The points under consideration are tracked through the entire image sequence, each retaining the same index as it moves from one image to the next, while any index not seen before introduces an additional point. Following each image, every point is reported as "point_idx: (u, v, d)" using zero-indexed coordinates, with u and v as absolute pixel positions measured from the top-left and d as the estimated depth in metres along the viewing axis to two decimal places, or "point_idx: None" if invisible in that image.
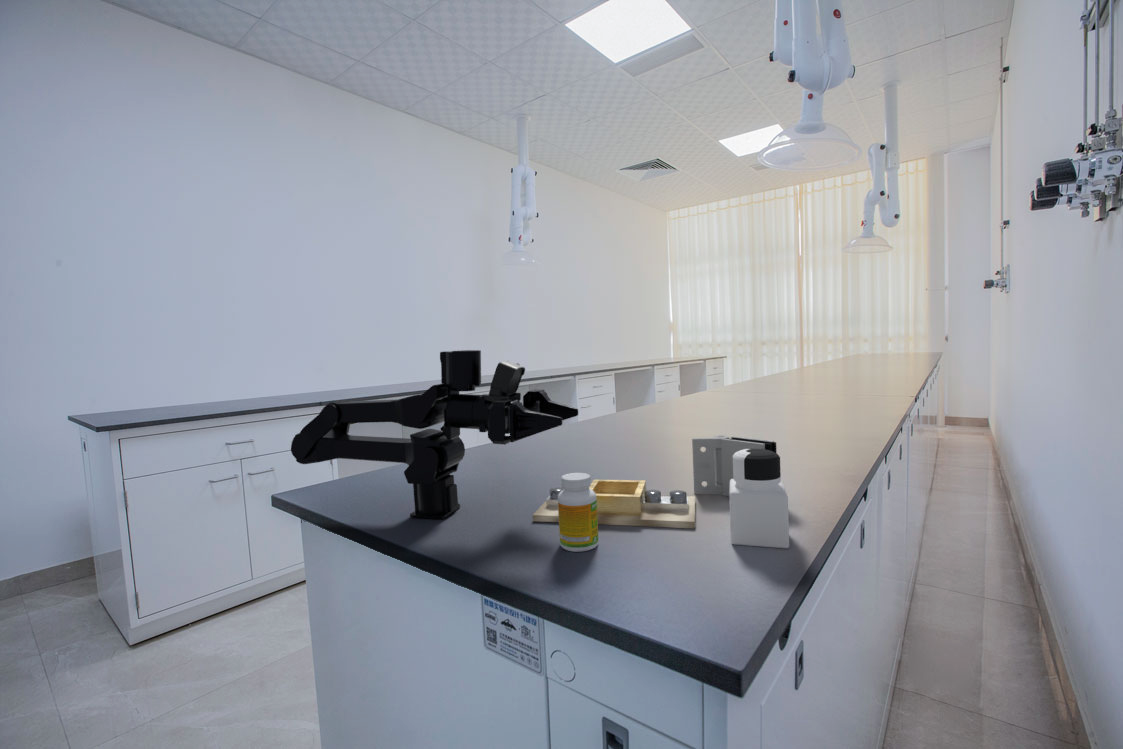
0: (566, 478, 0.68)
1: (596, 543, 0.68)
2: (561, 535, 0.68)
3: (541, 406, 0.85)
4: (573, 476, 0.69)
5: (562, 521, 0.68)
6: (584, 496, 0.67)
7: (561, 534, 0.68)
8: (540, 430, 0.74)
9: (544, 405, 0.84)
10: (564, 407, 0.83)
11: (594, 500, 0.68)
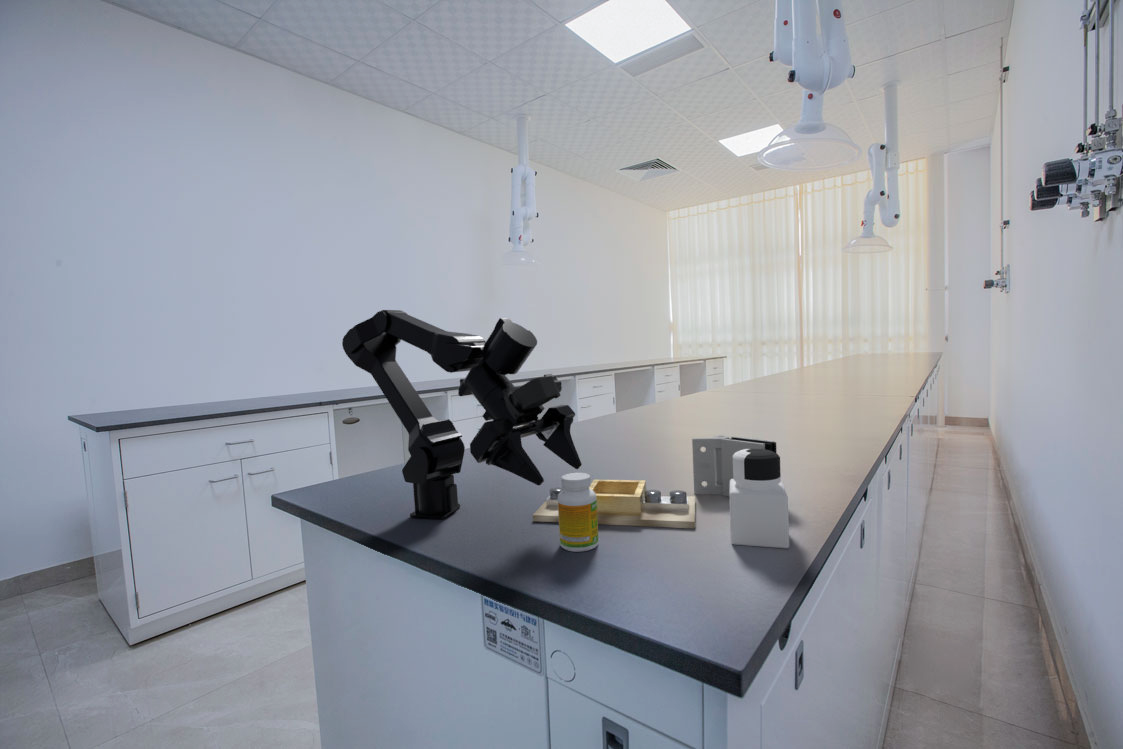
0: (566, 478, 0.68)
1: (596, 543, 0.68)
2: (561, 535, 0.68)
3: (556, 431, 0.76)
4: (573, 476, 0.69)
5: (562, 521, 0.68)
6: (584, 496, 0.67)
7: (561, 534, 0.68)
8: (518, 474, 0.67)
9: (559, 433, 0.76)
10: (571, 452, 0.74)
11: (594, 500, 0.68)
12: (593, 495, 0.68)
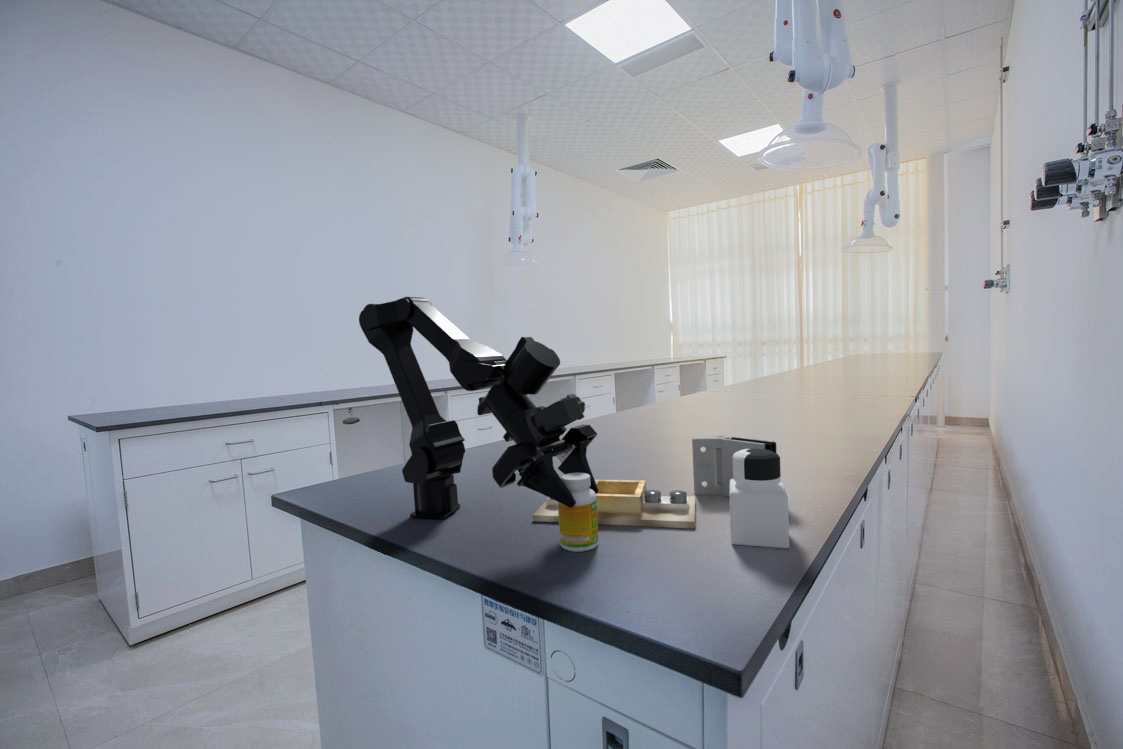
0: (566, 477, 0.68)
1: (596, 543, 0.68)
2: (561, 535, 0.68)
3: (571, 454, 0.73)
4: (573, 476, 0.69)
5: (562, 520, 0.68)
6: (584, 496, 0.67)
7: (561, 534, 0.68)
8: (549, 496, 0.67)
9: (574, 457, 0.73)
10: None
11: (594, 500, 0.68)
12: (593, 495, 0.68)
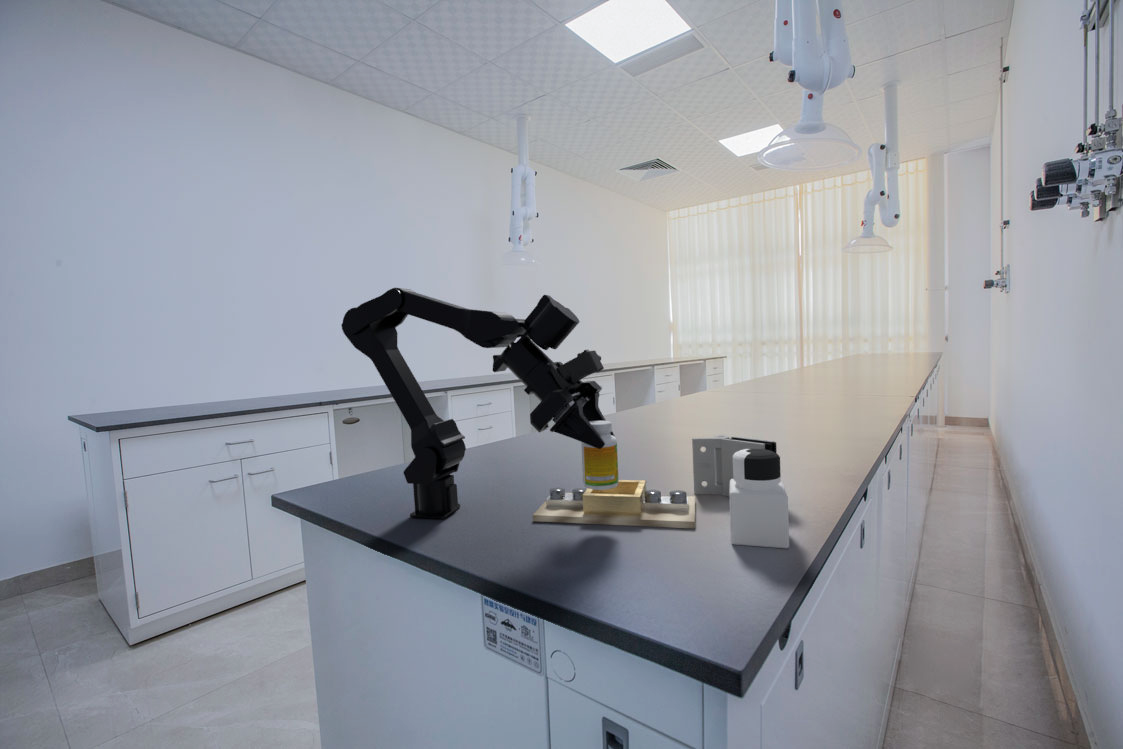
0: (592, 423, 0.74)
1: (618, 482, 0.75)
2: (587, 476, 0.74)
3: (586, 406, 0.79)
4: (596, 422, 0.75)
5: (589, 463, 0.73)
6: (610, 438, 0.74)
7: (587, 475, 0.74)
8: (580, 439, 0.72)
9: (589, 407, 0.79)
10: None
11: (616, 443, 0.75)
12: (615, 438, 0.75)
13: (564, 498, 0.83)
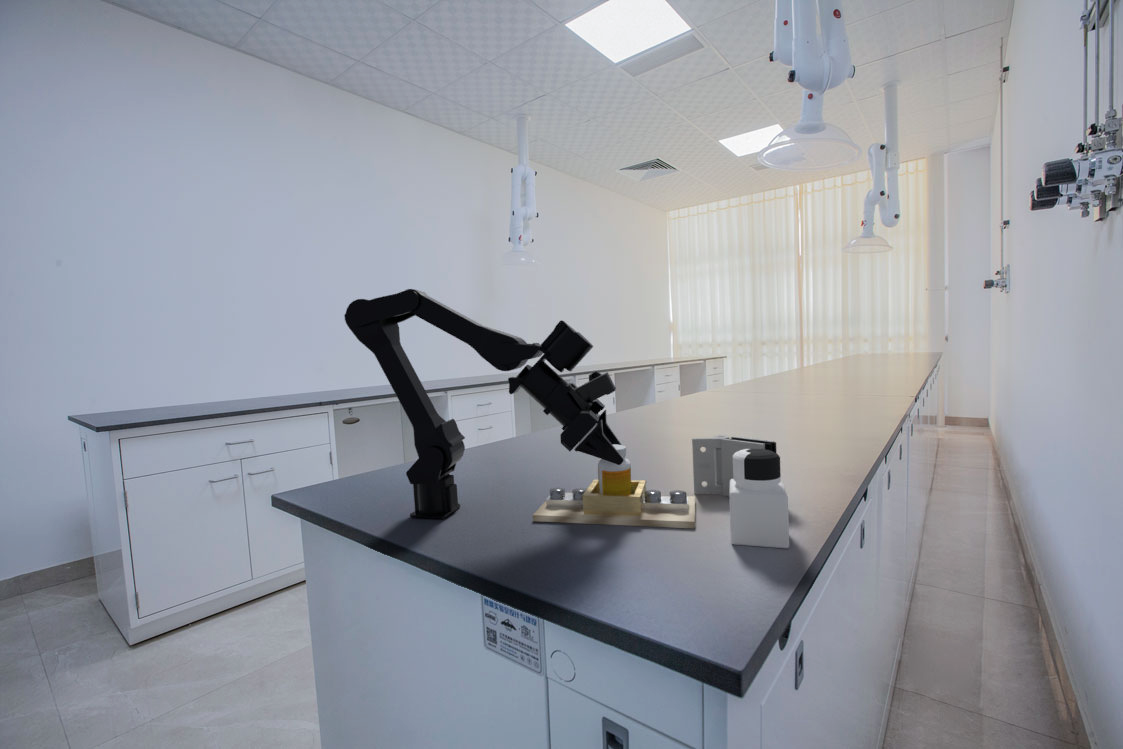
0: None
1: None
2: None
3: (597, 422, 0.86)
4: None
5: (608, 485, 0.79)
6: (626, 462, 0.80)
7: None
8: (601, 457, 0.77)
9: None
10: (615, 439, 0.85)
11: None
12: (629, 461, 0.81)
13: (564, 498, 0.83)
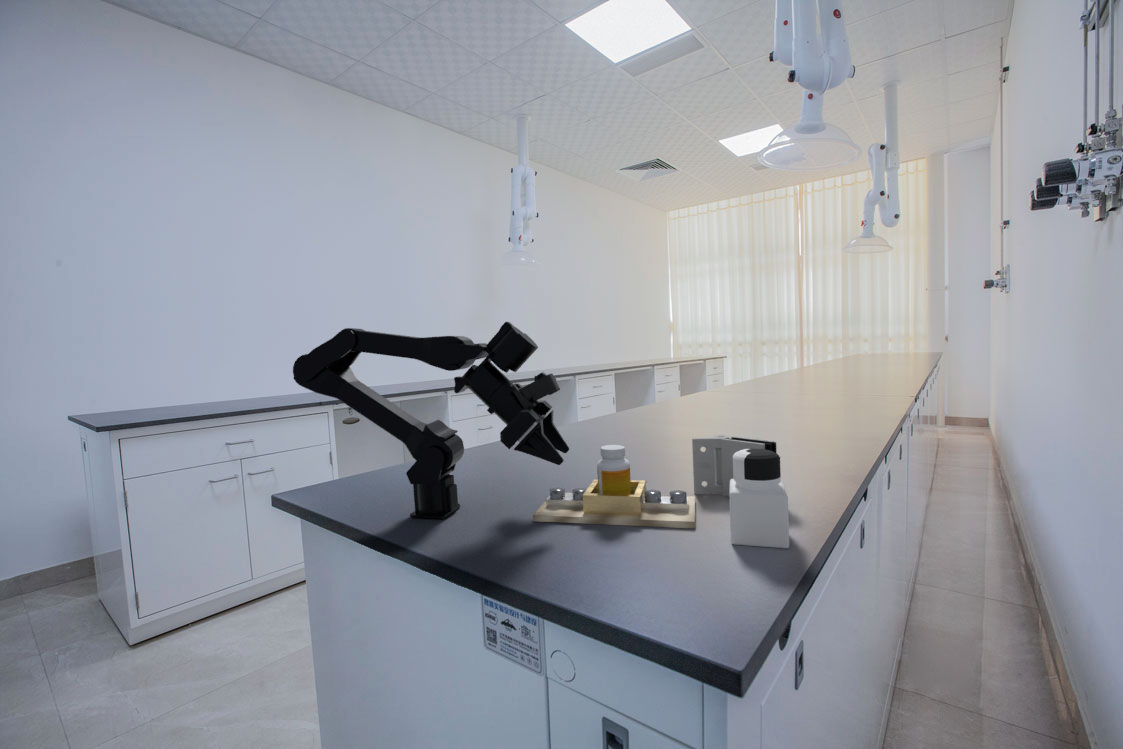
0: (608, 448, 0.80)
1: None
2: None
3: (543, 422, 0.88)
4: (611, 447, 0.81)
5: (607, 485, 0.79)
6: (625, 462, 0.80)
7: None
8: (541, 457, 0.77)
9: (546, 423, 0.88)
10: (560, 439, 0.87)
11: None
12: (628, 461, 0.82)
13: (564, 498, 0.83)
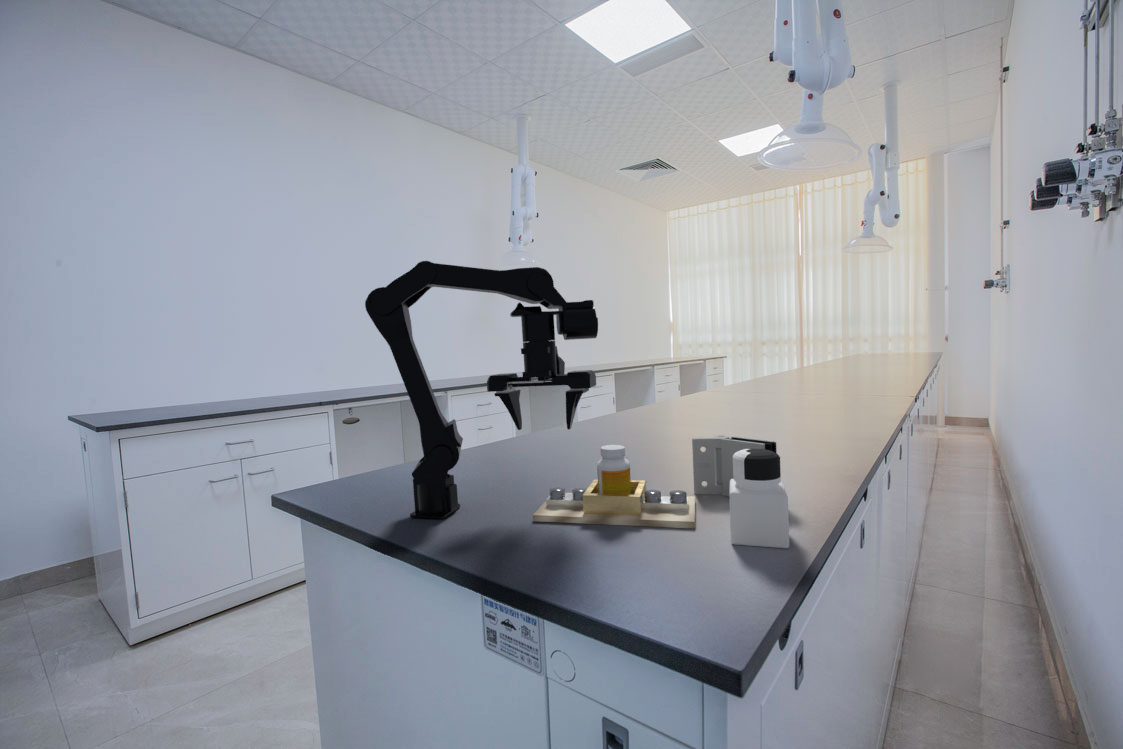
0: (608, 448, 0.80)
1: None
2: None
3: (516, 393, 0.90)
4: (611, 447, 0.81)
5: (607, 485, 0.79)
6: (625, 462, 0.80)
7: None
8: (572, 413, 0.85)
9: (517, 395, 0.90)
10: (520, 416, 0.90)
11: None
12: (628, 461, 0.82)
13: (564, 498, 0.83)
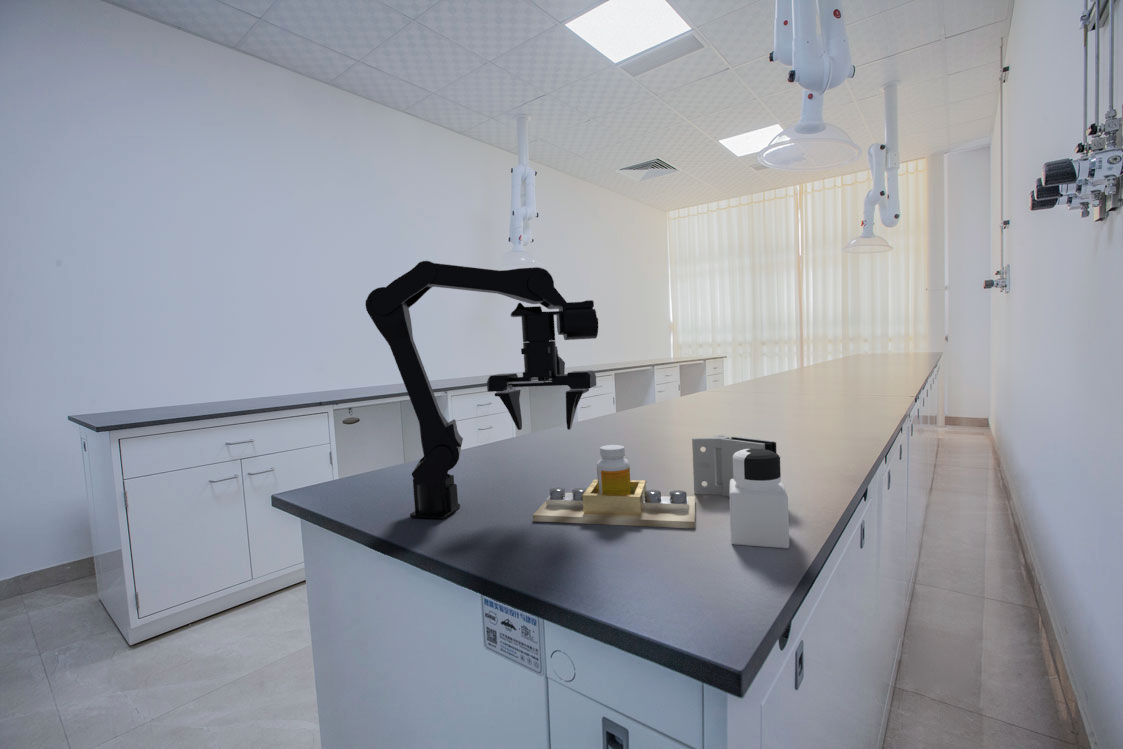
0: (608, 448, 0.80)
1: None
2: None
3: (516, 393, 0.90)
4: (610, 447, 0.81)
5: (607, 485, 0.79)
6: (625, 461, 0.80)
7: None
8: (572, 413, 0.85)
9: (517, 396, 0.90)
10: None
11: (629, 465, 0.81)
12: (628, 461, 0.82)
13: (564, 498, 0.83)
